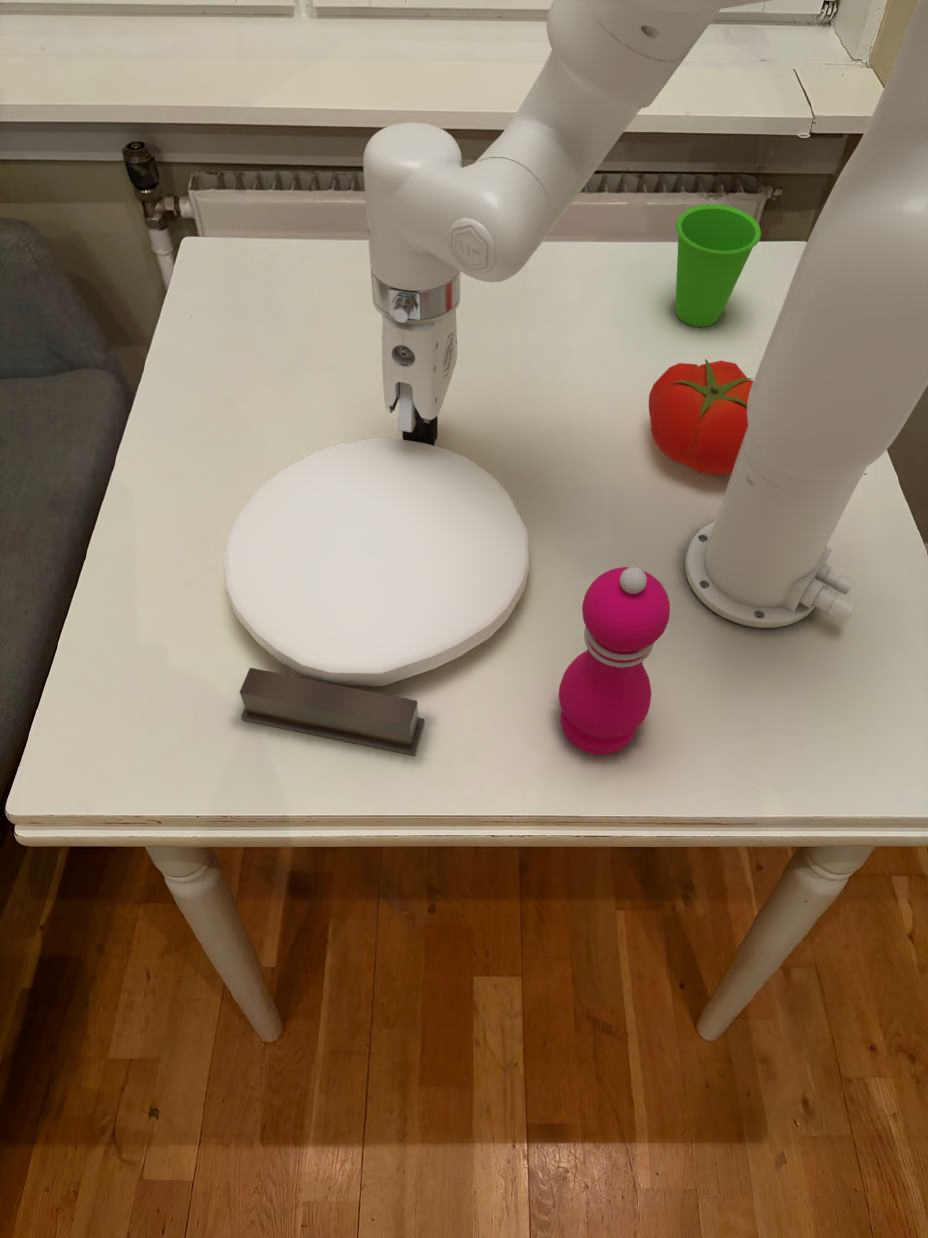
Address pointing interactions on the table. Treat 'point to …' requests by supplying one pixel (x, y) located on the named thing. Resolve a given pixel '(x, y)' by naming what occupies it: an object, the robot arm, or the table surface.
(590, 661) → the pepper mill
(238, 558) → the plate
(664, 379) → the tomato
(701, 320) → the cup
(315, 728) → the rail
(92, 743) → the table surface
